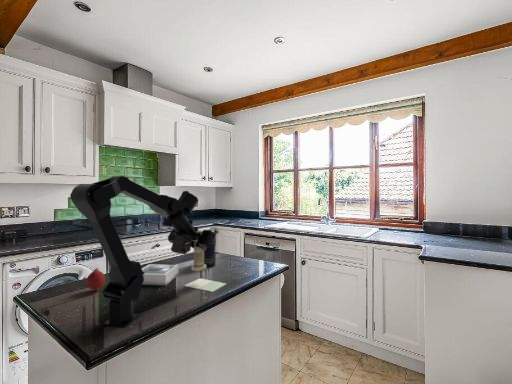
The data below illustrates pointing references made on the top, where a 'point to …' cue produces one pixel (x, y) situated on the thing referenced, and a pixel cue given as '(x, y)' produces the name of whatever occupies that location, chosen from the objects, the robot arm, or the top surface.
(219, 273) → the top surface
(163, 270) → the dome button
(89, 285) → the onion
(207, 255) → the dark blue cylinder
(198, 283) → the game track
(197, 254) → the beech pawn
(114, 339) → the top surface
